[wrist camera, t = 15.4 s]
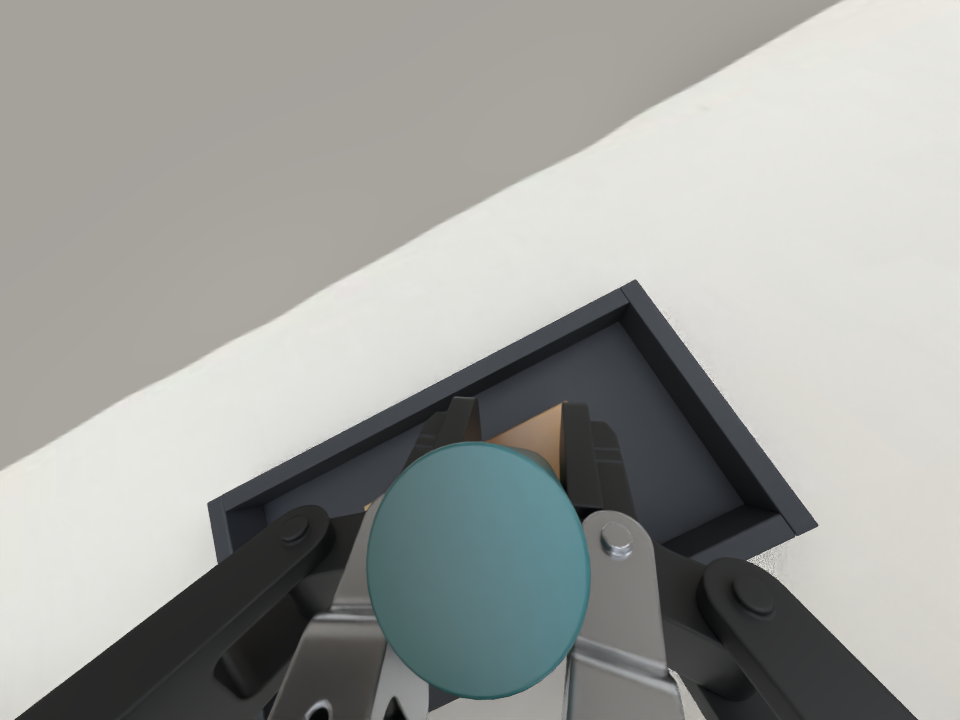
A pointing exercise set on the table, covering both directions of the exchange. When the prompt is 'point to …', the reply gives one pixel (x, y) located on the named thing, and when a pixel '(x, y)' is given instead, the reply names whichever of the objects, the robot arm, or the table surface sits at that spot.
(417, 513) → the rubber stamp
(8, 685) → the table surface
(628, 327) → the tray
